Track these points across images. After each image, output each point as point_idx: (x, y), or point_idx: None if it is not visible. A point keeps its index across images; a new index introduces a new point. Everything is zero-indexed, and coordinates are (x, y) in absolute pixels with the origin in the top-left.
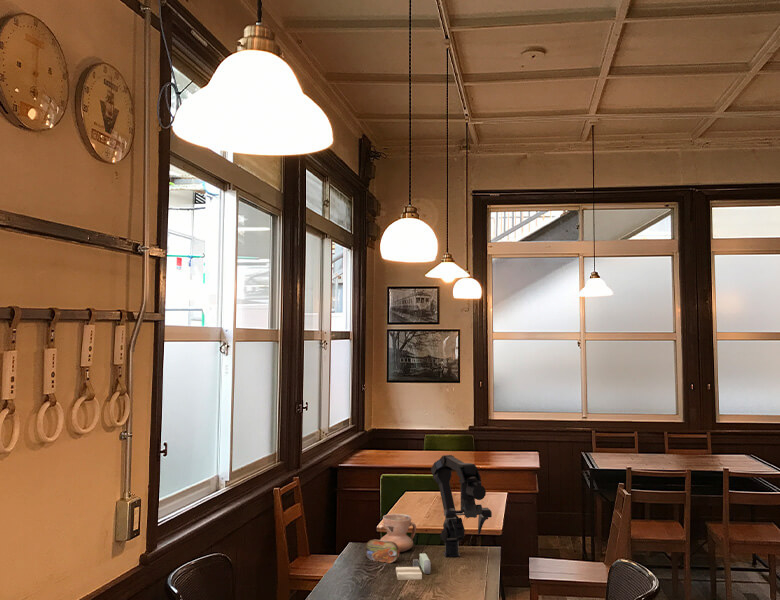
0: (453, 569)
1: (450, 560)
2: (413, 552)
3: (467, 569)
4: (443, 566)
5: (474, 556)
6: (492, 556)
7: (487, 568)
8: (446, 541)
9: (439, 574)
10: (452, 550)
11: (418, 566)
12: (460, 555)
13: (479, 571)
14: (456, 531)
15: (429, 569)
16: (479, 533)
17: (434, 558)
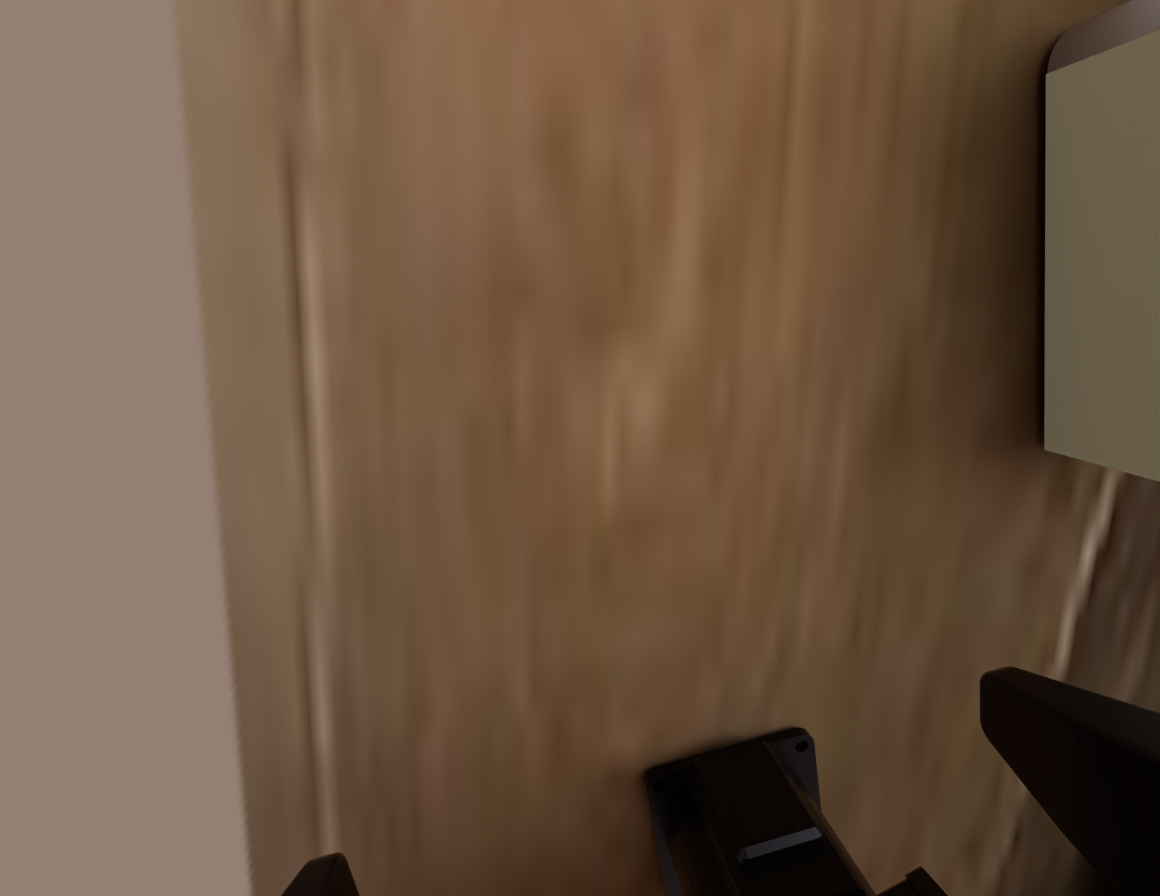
0: (749, 289)
1: (760, 634)
2: None
3: (573, 310)
4: (856, 398)
5: (485, 826)
6: (266, 873)
7: (300, 387)
8: (911, 880)
9: (936, 50)
10: (768, 791)
11: None
12: (649, 786)
13: (408, 235)
14: (1103, 711)
15: (1114, 10)
16: (307, 878)
17: (920, 669)
